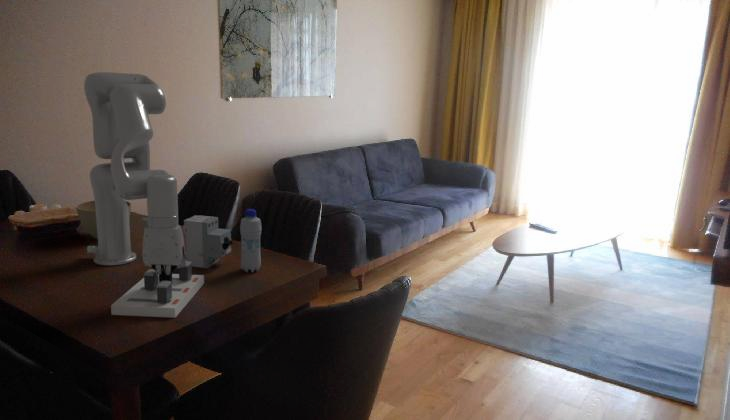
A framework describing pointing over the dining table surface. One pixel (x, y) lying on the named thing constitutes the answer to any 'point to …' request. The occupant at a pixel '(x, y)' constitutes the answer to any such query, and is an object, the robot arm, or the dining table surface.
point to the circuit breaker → (205, 241)
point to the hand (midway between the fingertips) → (165, 286)
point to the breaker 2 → (186, 271)
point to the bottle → (250, 241)
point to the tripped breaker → (151, 279)
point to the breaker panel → (146, 300)
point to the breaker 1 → (164, 291)
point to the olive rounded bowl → (91, 216)
